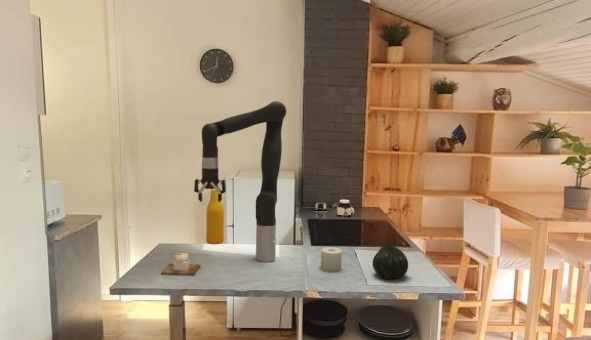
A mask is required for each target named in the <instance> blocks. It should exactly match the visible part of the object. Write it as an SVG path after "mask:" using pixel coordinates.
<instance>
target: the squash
mask: <svg viewBox="0 0 591 340" xmlns="http://www.w3.org/2000/svg"><path fill="white" fill-rule="evenodd" d="M372 268H373V270H374V271H375V273H376V274H377V275H378V276H379V277H380V278H382V279H386V280H392V279H393V278H394V279H398V278H401V277H403V276H405V275H406V274H407V272H408V269H409V261H408V258H407V256H406V254H405V253H404V252H403V251H402V250H401V249H399V248H398V247H395V246H394V245H392V244H389V243H383V244H382V245H381V247H380V248H379V249H378V250H377V252H376V253H375V255H374V257H373V258H372Z"/></svg>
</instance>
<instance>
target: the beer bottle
mask: <svg viewBox="0 0 591 340" xmlns="http://www.w3.org/2000/svg"><path fill="white" fill-rule="evenodd" d="M221 201H222V200H221ZM221 201H220V202H218V192H217V191H216V190H215V189H210V199H209V202H208V205H207V207H206V243H207V244H208V245H221V244H223V243H224V240H225V239H224V238H225V237H224V228H225V227H224V226H225V225H224V224H225V223H224V221H225V220H224V219H225V218H224V216H225V214H224V213H225V210H224V206H223V204H222V203H223V202H221Z"/></svg>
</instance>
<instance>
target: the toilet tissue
mask: <svg viewBox="0 0 591 340" xmlns="http://www.w3.org/2000/svg"><path fill="white" fill-rule="evenodd" d="M320 253H321V255H320V270H322V271H324V272H328V273H339V272H340V271H341V270H342V253H343V251H342V249H340V248H338V247H332V246H331V247H329V246H328V247H322V248H321V251H320Z"/></svg>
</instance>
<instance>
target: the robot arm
mask: <svg viewBox="0 0 591 340" xmlns="http://www.w3.org/2000/svg"><path fill="white" fill-rule="evenodd" d="M286 114H287V107H286V106H285V104H284V103H283V102H281V101H278V100H275V101H272V102H270V103H268V104H267V105H265V106H262V107H261V108H259V109H255V110H252V111H249V112H244V113H240V114H237V115H232V116H230V117H227V118H224V119H222V120H219V121H215V122H210V123H206V124H204V125H203V127H202V128H201V141H202V151H201V152H202V158H201V159H202V160H201V179H198V178H195V179H194V188H193V191H194V192H195V193H197V195H198V197H197V198H198V201H199V202H203V192H204V190H209V189H210V190H211V189H215V190H216V191H217V192H218V202H220V201H222V200H223V197H222V196H223V194H224V193H226V191H227V190H226V189H227V188H226V179H220V178H219V147H218V137H221V136H222V137H223V136H225V135H228V134H229V135H230V134H232V133H235V132H239V131H242V130H244V129H247V128H251V127H253V126H256V125H260V124H263V123H265V124H266V125H265V127H266V128H265V134H264V139H263V144H262V149H261V158H260V160H261V161H260V166H261V167H260V168H261V176H262V177H261V180H262V181H261V186H260V191H259V193H258V195H257V196H256V198H255V220H256V223H255V224H256V225H255V226H256V230H255V231H256V232H255V233H256V235H255V238H256V240H255V260H256V261H258V262H261V263H269V262H275V261H276V257H277V256H276V255H277V254H276V253H277V251H276V249H277V248H276V246H277V244H276V243H277V239H276V232H277V231H276V229H277V227H276V225H277V224H276V223H277V218H276V205H277V203H278V178H279V174H280V167H281V162H282V161H281V160H282V148H283V147H282V144H283V143H282V127H283V125H284V124H283V123H284V120H285V117H286ZM200 183H201V185H202V186H201V187H200V188H199V184H200ZM219 184H220V185H221V188H220V186H219Z"/></svg>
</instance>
